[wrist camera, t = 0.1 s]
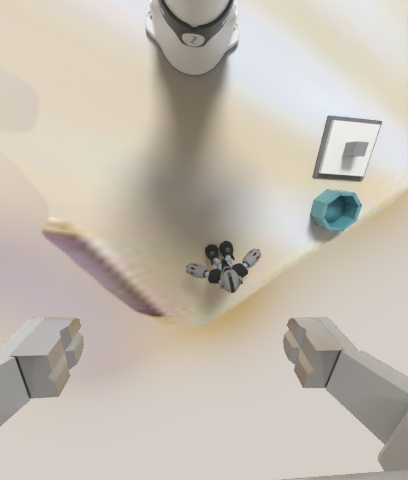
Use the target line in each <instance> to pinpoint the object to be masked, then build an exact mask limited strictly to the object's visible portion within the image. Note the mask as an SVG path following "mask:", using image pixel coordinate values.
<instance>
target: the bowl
mask: <svg viewBox="0 0 408 480" xmlns="http://www.w3.org/2000/svg"><path fill="white" fill-rule="evenodd" d="M361 206H362V205H361V203H360V201H359V199H358V197H357V195H356V194H355V193H353V192H348V191H343V190H329V189H327V190H326V191H324V192H323V193H322V194H321V195H319V196H318V197H317V198H315V199H314V202H313V206H312V210H311V213H310V215H311V216H312V218H313V219H314V220H315V222H316V223H317V225H319V226H321V227H323V228H325V229H327V230H338V231H343V230H344V229H346V228H347V227H349V226H350V225H351V224H353V223H354V222H355V221H357V218H358V215H359V212H360V209H361Z"/></svg>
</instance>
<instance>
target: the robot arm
mask: <svg viewBox="0 0 408 480" xmlns="http://www.w3.org/2000/svg"><path fill="white" fill-rule="evenodd" d="M151 17H152V20H151ZM145 26H146V30H147V32H148V33H149V35H150V36H151V37H152V38H153V39H154V40H156V41H157V42H158V44H159V46H160V47H161V49H162V51H163V53H164V55H165V57H166V58H167V60H168V61H169V62H170V63H171V65H172V66H174V67H175V68H176V69H177V70H179V71H181V72H183V73H185V74H189V75H201V74H204V73H206V72H208V71H210V70H211V69H213V68H214V67H215V66H216V65H217V64H218V63H219V61H220V60H221V58H222V57H223V55H224V54H225V53H226V51H228V50H229V49H231V48H232V47H234V46H235V45H236V44H237V42H238V40H239V17H238V0H148V5H147V12H146V20H145ZM234 30H235V31H234ZM287 326H288V328H289V331H288V332H286V334H285V335H284V340H283V342H284V350H285V353H286V355H287V357H288V359H289V360H290V361H291V362H292V363H294V364H295V369H294V371H295V373H296V375H297V377H298V379H299V380H300V383H301V385H302V386H303V388H326V390H327V391H328V392H329V393H330V394H331V395H332V396H333V397H335V398H336V399H337V400H338V401H339V402H340V403H341V404H342V405H343V406H344V407H345V408H346V409H347V410H349V411H350V412H351V413H352V414H353V415H354V416H355V417H356V418H357V419H358V420H359V421H360V422H361V423H362V424H364V425H365V426H366V427H367V428H368V429H369V430H370V431H371V432H372V433H373V434H374V435H375V436H376V437H377V438H378V439H380V440H381V441H382V442H383V443H384V444H385V446H384V447H383V449H382V450H381V452H380V453H379V455H378V461H379V463H380V464H381V466H382V468H383V469H384V471H383V472H370V473H358V474H346V475H333V476H321V477H309V478H296V479H284V480H408V377H407V376H406V375H404V374H402V373H400V372H399V371H397V370H395V369H394V368H392V367H390V366H388V365H387V364H385V363H383V362H381V361H380V360H378V359H376V358H375V357H373V356H371V355H370V354H368V353H366V352H364V351H359V350H358V349H357V348H356V347H355V346H354V345H353V344H352V342H351V341H350V340H349V339H348V338H347V337H346V336H345V335H344V334H343V333H342V332H341V330H339V328H338V327H337V326H336V325H335V324H334V323H333V322H332V321H331V320H330V319H329V318H327V317H315V318H291V319H290V320H289V321H288V324H287ZM80 327H81V325H80V320H79V319H77V318H52V317H49V318H39V317H33V318H31V319H28V320H27V321H26V322H25V323H24V324H23V325H22V326H21V327H20V328H19V329H18V330H17V331H16V332H15V333H14V334H13V335H12V336H11V337H10V338H9V339H8V340H7V341H6V342H5V343H4V344H3V345H2V346H1V347H0V426H1V425H2V424H3V423H5V422H6V421H7V420H8V419H9V418H10V417H11V416H12V415H14V414H15V413H16V412H17V411H18V410H19V409H21V408H22V407H23V406H24V405H25V404H26V403H27V402H28V401H30V399H31V398H46V397H59V395H60V393H61V392H62V390H63V388H64V386H65V384H66V383H67V381H68V379H69V377H70V374H69V369H71V368H72V367H73V366H75V365H76V364H77V362H78V360H79V359H80V357H81V353H82V350H83V336H82V335H81V334H80V333H79V332H78V330H79V329H80Z"/></svg>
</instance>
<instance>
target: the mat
mask: <svg viewBox="0 0 408 480" xmlns="http://www.w3.org/2000/svg"><path fill="white" fill-rule="evenodd" d="M333 120H339V121H349V122H359V123H369V124H378V125H380V127H381V124H382V121H376V120H366V119H357V118H347V117H337V116H328V117H327V121H326V125H325V129H324V133H323V138H322V142H321V146H320V150H319V154H318V158H317V162H316V166H315V170H314V174H313V177H324V178H338V179H352V180H363V178H364V176H351V175H337V174H324V173H318V172H319V168H320V164H321V160H322V157H323V153H324V149H325V145H326V141H327V137H328V133H329V129H330V125H331V121H333ZM379 130H380V128H379ZM378 133H379V131H378ZM377 136H378V134H377ZM376 139H377V137H376ZM375 142H376V140H375ZM374 145H375V143H374ZM373 148H374V146H373ZM372 151H373V149H372ZM371 154H372V152H371ZM370 157H371V155H370ZM369 160H370V158H369ZM368 163H369V161H368ZM367 166H368V164H367ZM366 169H367V167H366ZM365 172H366V170H365ZM364 175H365V173H364Z"/></svg>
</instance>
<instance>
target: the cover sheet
mask: <svg viewBox="0 0 408 480" xmlns="http://www.w3.org/2000/svg"><path fill="white" fill-rule="evenodd" d="M379 128H380V125H378V124H369V123H359V122H349V121H339V120H333V121H331V125H330V129H329V133H328V137H327V141H326V145H325V149H324V153H323V157H322V160H321V164H320V168H319V172H318V173H324V174H337V175H351V176H364V173H365V170H366V167H367V164H368V161H369V158H370V155H371V152H372V149H373V146H374V143H375V140H376V137H377V134H378V131H379Z"/></svg>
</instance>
